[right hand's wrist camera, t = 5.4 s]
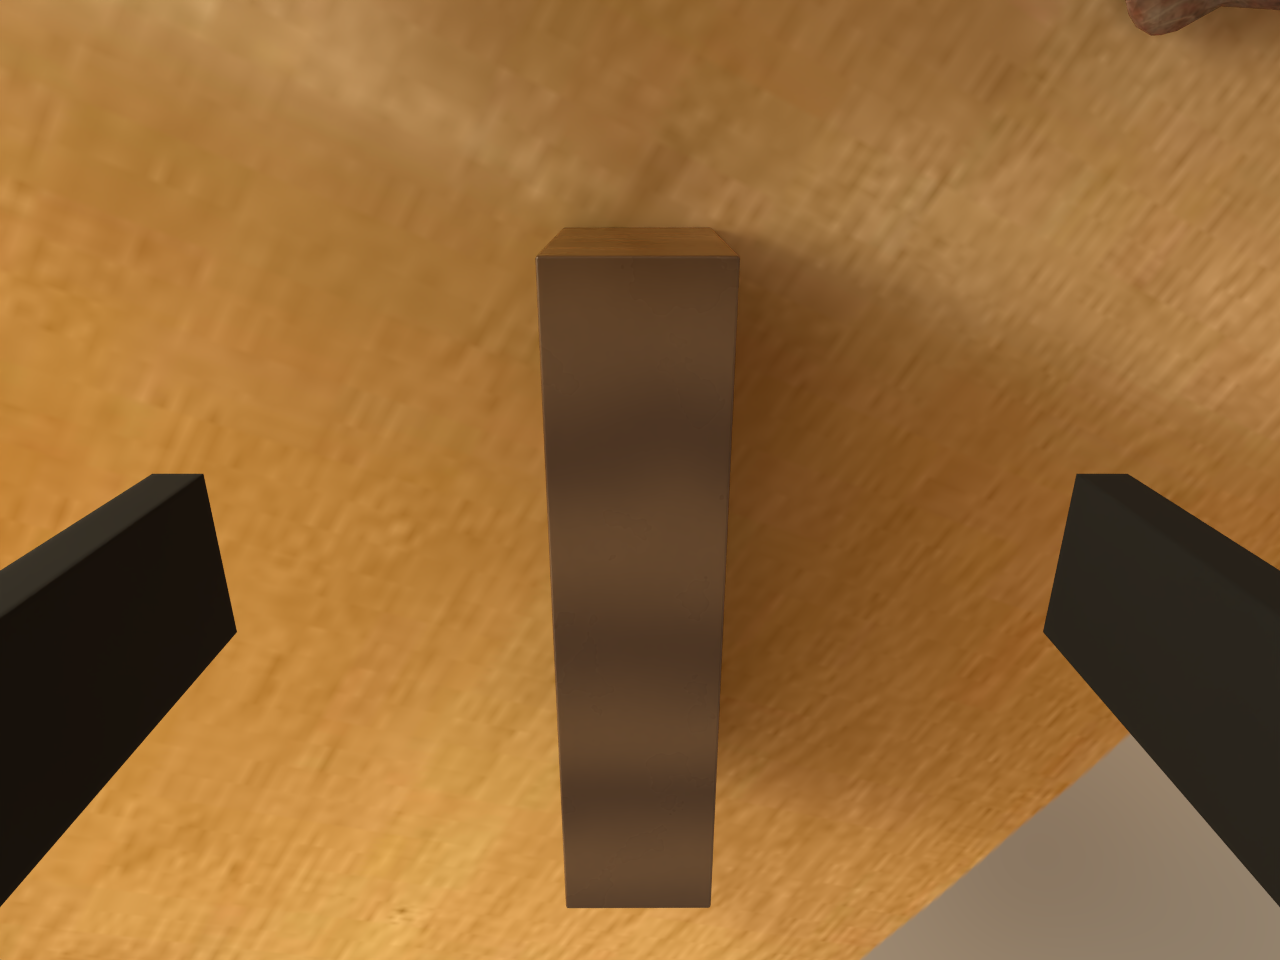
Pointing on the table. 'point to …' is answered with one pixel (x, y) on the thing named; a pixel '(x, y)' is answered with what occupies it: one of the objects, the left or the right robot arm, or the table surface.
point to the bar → (637, 549)
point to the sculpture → (1182, 12)
